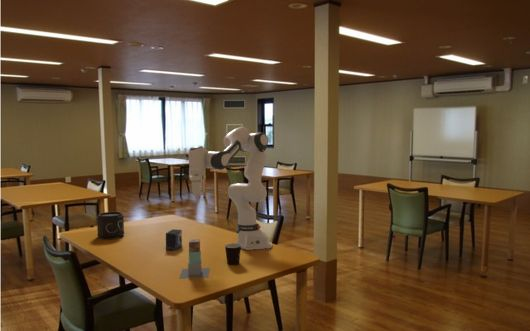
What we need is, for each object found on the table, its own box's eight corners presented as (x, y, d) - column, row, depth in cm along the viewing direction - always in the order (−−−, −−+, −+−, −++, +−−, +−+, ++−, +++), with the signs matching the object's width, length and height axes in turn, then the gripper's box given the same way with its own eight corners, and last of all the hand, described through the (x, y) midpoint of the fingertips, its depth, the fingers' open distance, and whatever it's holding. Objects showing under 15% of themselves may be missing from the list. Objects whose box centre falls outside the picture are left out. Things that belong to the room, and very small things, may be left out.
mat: (209, 268, 208) (209, 267, 208) (208, 278, 194) (208, 277, 194) (182, 269, 207) (182, 268, 207) (179, 279, 193) (179, 278, 193)
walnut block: (200, 248, 202) (199, 239, 202) (199, 251, 197) (199, 241, 197) (190, 249, 202) (189, 239, 201) (189, 252, 197) (188, 242, 196)
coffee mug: (234, 267, 210) (234, 248, 209) (222, 264, 214) (221, 246, 213) (247, 261, 219) (247, 243, 219) (234, 258, 224) (234, 241, 223)
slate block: (201, 270, 204) (201, 259, 203) (200, 274, 198) (200, 263, 197) (189, 271, 203) (189, 259, 203) (188, 275, 197) (188, 263, 197)
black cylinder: (131, 235, 277) (130, 212, 276) (108, 241, 262) (107, 217, 261) (114, 231, 287) (113, 210, 286) (91, 237, 272) (90, 214, 271)
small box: (175, 250, 240) (175, 233, 239) (165, 250, 241) (165, 233, 240) (182, 246, 250) (182, 229, 249) (172, 245, 251) (172, 229, 251)
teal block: (199, 259, 203) (199, 248, 203) (200, 262, 198) (200, 251, 197) (188, 260, 202) (188, 249, 201) (189, 263, 196) (189, 252, 196)
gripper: (193, 173, 229) (194, 197, 231) (189, 178, 209) (190, 204, 211) (204, 173, 230) (205, 197, 231) (202, 177, 210) (202, 203, 211)
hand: (198, 200), depth 221 cm, fingers open, 8 cm apart
